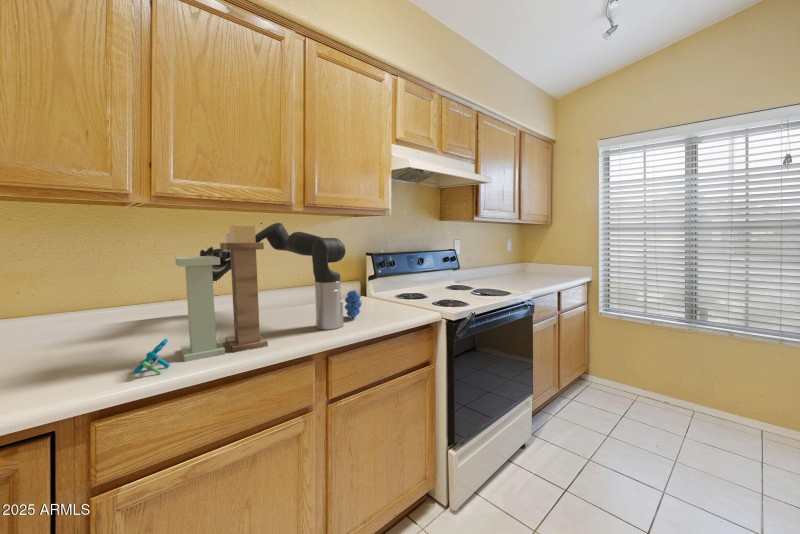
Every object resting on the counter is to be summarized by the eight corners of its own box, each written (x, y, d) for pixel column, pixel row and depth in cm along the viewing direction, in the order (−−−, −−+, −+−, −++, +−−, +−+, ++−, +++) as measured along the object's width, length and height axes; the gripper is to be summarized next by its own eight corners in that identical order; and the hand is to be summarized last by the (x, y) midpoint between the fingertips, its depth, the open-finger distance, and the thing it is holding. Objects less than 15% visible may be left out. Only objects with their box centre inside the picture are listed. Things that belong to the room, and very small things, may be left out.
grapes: (369, 319, 142) (369, 290, 141) (355, 321, 138) (354, 291, 137) (355, 314, 152) (354, 286, 150) (341, 316, 147) (340, 288, 146)
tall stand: (225, 342, 112) (219, 242, 109) (257, 337, 117) (253, 242, 115) (232, 352, 102) (227, 243, 99) (267, 346, 108) (263, 242, 105)
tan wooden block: (221, 242, 118) (220, 227, 118) (240, 242, 122) (239, 227, 121) (233, 243, 101) (233, 225, 101) (255, 242, 105) (254, 226, 104)
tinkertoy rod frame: (140, 358, 93) (168, 331, 93) (160, 370, 95) (187, 344, 96) (123, 379, 83) (154, 349, 83) (145, 393, 85) (176, 363, 85)
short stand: (181, 350, 104) (175, 257, 102) (218, 343, 110) (213, 255, 108) (184, 361, 95) (178, 259, 92) (225, 354, 101) (220, 257, 98)
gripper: (237, 268, 142) (247, 258, 130) (197, 270, 134) (203, 260, 121) (235, 251, 143) (244, 239, 131) (196, 251, 135) (201, 239, 122)
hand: (225, 249), depth 126 cm, fingers open, 8 cm apart
